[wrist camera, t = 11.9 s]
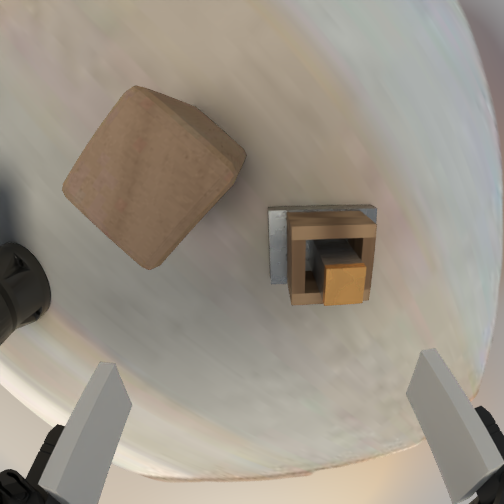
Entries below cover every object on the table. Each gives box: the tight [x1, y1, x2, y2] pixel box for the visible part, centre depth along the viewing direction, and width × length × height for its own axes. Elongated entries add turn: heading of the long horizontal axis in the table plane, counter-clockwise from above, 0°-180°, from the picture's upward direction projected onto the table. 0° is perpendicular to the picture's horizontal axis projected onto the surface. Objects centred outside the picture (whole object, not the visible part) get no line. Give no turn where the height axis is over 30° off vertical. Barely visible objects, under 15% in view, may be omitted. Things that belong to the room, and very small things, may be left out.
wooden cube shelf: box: [287, 211, 377, 305], centre depth 37 cm, size 10×10×6 cm
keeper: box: [268, 205, 377, 306], centre depth 35 cm, size 14×10×13 cm
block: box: [62, 86, 247, 270], centre depth 28 cm, size 10×10×20 cm
